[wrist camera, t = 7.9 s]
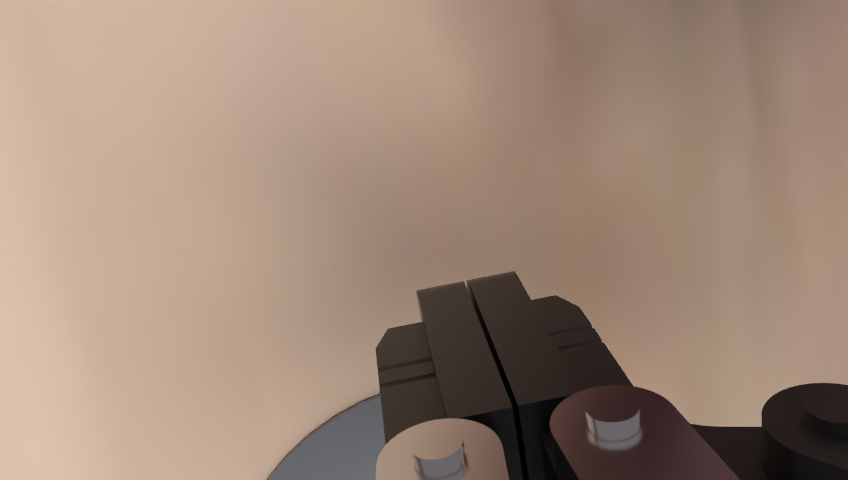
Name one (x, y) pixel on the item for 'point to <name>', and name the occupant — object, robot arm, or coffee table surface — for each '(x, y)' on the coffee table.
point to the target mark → (339, 447)
